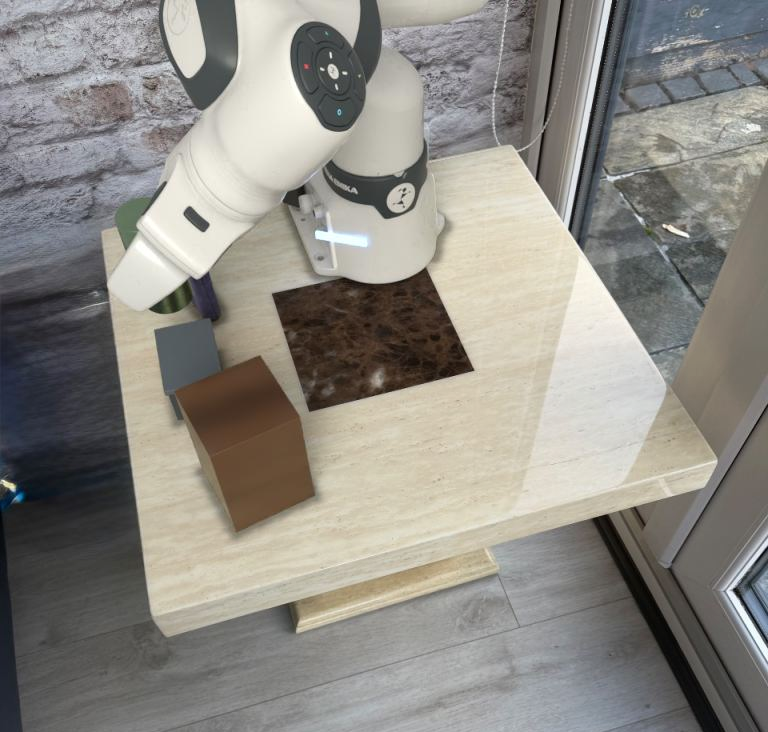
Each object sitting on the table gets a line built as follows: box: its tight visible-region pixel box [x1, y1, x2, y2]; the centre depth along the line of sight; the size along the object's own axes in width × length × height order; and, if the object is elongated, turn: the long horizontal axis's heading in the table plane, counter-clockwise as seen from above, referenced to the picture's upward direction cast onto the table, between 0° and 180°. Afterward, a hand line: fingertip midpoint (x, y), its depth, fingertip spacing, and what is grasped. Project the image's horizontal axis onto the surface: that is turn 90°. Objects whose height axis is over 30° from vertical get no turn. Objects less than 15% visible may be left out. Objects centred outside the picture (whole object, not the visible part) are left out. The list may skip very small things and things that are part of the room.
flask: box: [189, 270, 222, 324], centre depth 100 cm, size 9×3×11 cm, turn 36°
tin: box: [113, 196, 193, 315], centre depth 81 cm, size 5×5×10 cm
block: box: [174, 354, 315, 533], centre depth 83 cm, size 9×9×13 cm
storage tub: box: [153, 318, 222, 421], centre depth 94 cm, size 10×6×5 cm
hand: (149, 253), depth 81 cm, fingers closed on tin, 5 cm apart
